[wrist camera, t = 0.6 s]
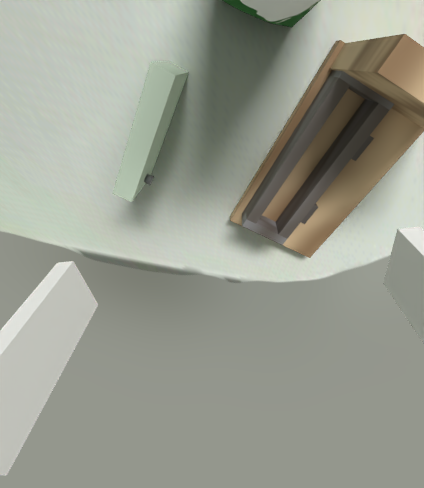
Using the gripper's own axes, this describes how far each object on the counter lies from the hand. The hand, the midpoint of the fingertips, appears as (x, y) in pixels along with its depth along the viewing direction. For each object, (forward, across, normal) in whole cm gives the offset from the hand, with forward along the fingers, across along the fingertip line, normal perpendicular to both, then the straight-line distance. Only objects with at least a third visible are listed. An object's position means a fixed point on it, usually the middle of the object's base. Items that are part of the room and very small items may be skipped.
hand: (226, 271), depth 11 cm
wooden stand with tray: (+22, +10, -5) cm, 24 cm away
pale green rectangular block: (+22, -7, +2) cm, 24 cm away
